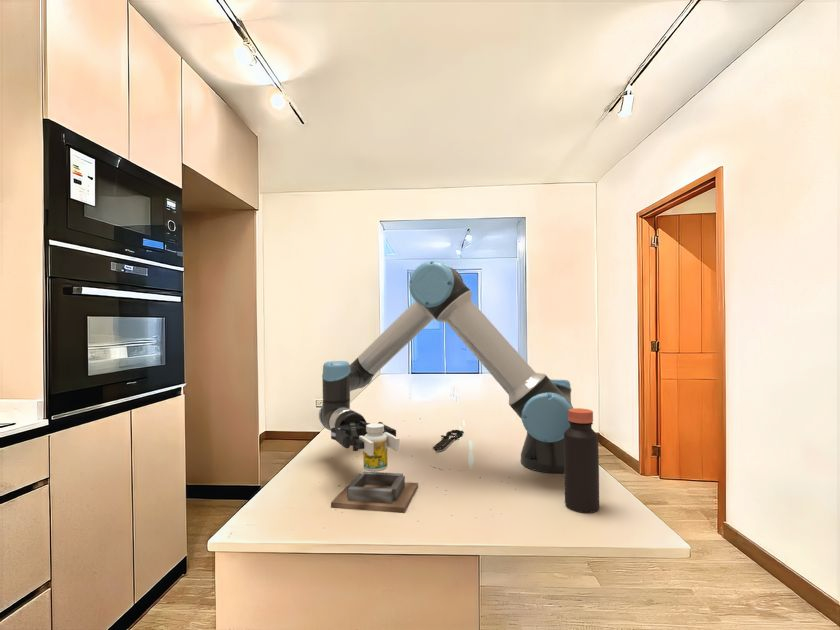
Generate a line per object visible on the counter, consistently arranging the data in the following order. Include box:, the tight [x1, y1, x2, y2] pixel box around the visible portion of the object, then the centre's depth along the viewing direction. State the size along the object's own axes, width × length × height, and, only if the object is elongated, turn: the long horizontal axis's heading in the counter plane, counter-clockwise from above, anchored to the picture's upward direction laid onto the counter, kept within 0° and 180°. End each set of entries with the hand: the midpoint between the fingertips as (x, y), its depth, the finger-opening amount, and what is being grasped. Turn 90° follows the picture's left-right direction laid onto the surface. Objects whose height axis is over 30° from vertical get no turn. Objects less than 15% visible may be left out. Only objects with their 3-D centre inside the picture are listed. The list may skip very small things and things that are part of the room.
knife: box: [433, 429, 464, 453], centre depth 142 cm, size 25×6×1 cm, turn 155°
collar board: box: [330, 471, 419, 514], centre depth 98 cm, size 16×14×4 cm
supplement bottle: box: [362, 422, 388, 472], centre depth 98 cm, size 5×5×10 cm
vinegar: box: [563, 407, 600, 514], centre depth 92 cm, size 7×7×20 cm
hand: (385, 447), depth 94 cm, fingers closed on supplement bottle, 5 cm apart
